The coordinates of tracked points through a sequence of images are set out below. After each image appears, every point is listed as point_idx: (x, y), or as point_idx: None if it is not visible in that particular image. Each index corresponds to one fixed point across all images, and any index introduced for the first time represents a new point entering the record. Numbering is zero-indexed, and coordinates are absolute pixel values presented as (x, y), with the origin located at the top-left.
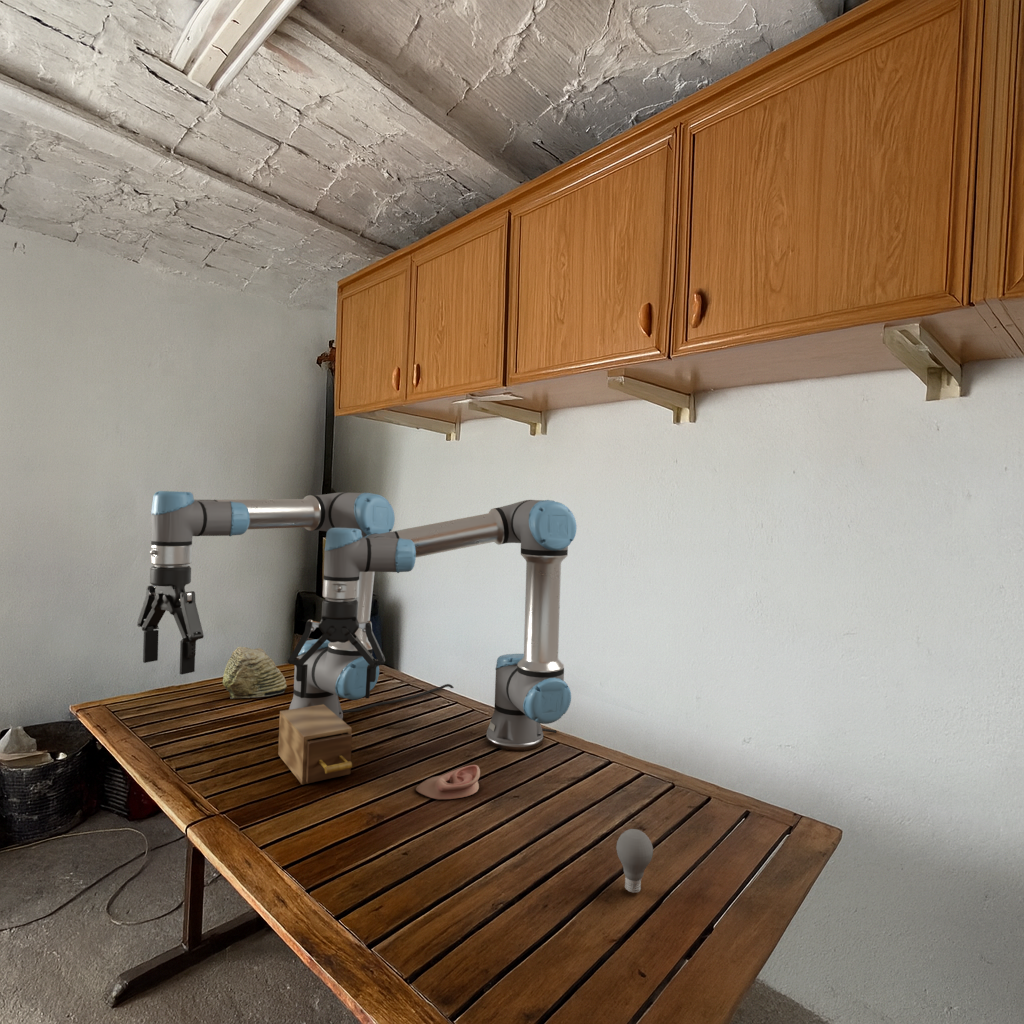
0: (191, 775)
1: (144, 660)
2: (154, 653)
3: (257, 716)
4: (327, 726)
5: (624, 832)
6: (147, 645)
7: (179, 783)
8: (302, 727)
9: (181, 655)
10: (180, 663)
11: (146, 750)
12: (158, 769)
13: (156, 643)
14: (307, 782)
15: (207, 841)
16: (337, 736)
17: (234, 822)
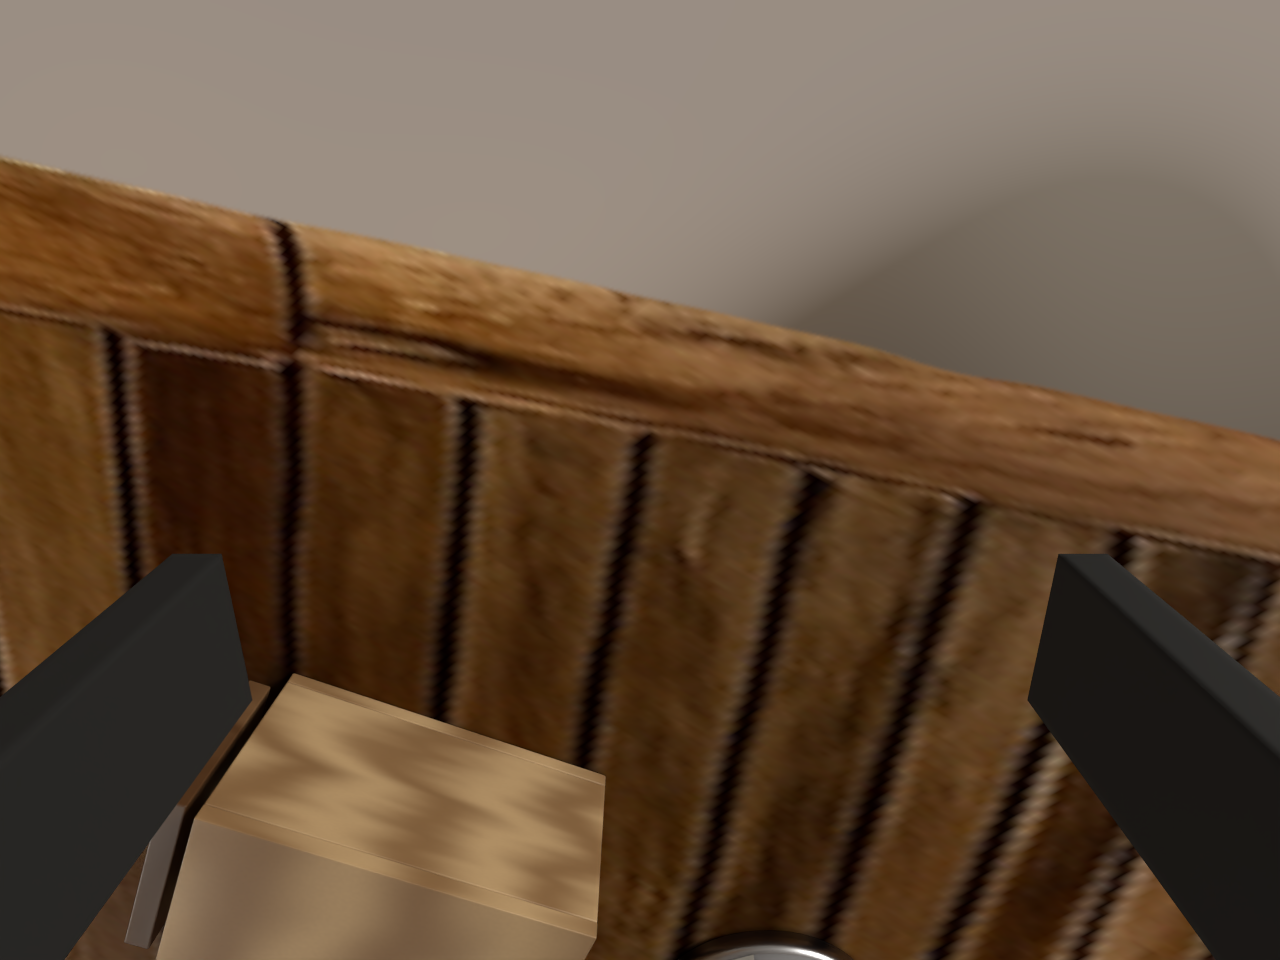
0: (709, 482)
1: (1087, 569)
2: (1085, 728)
3: (1012, 939)
4: (242, 939)
5: None
6: (1207, 733)
7: (677, 411)
8: (311, 877)
9: (8, 711)
10: (126, 630)
11: (1118, 506)
12: (883, 432)
13: (1171, 866)
14: (251, 682)
15: (101, 197)
16: (151, 905)
17: (181, 351)
